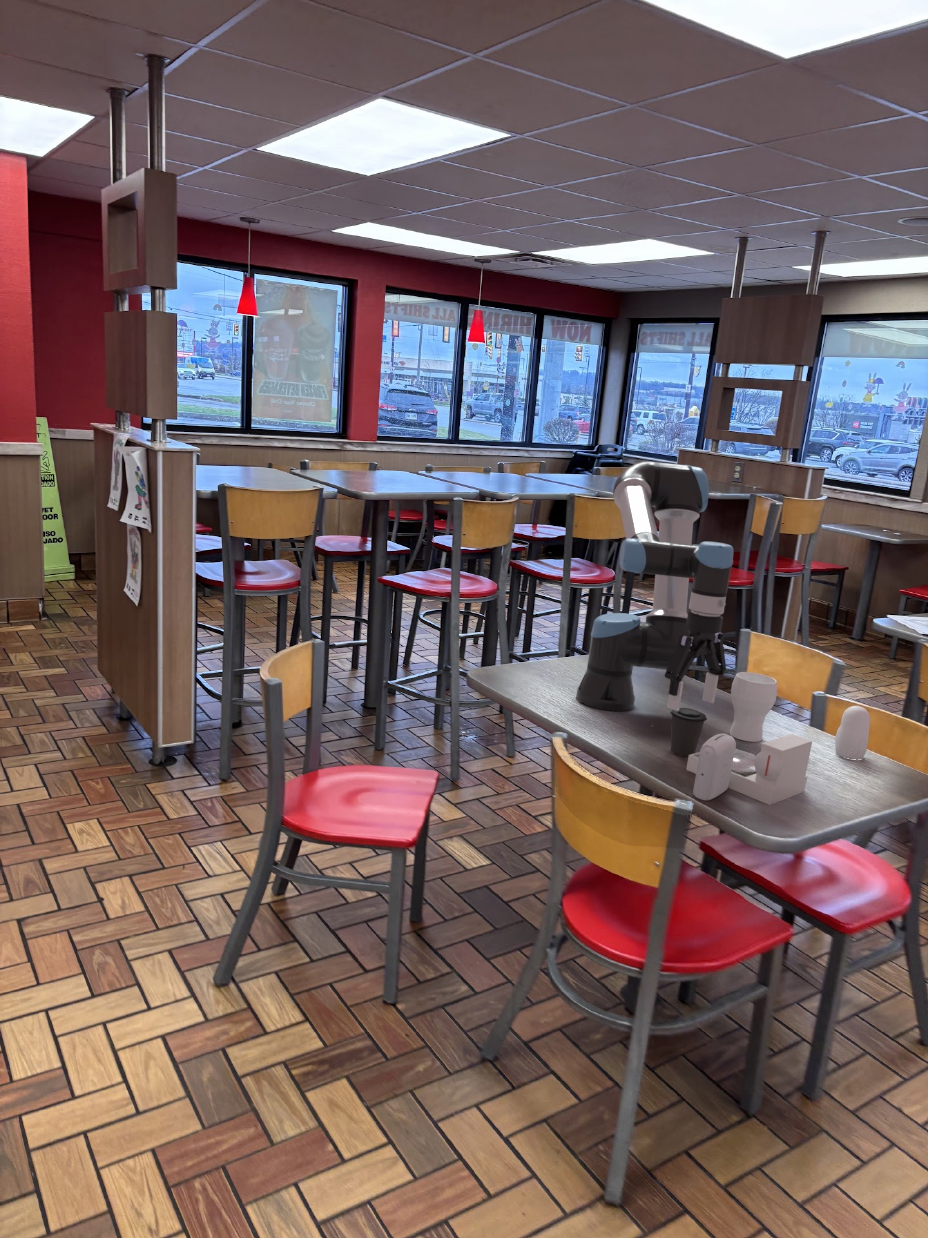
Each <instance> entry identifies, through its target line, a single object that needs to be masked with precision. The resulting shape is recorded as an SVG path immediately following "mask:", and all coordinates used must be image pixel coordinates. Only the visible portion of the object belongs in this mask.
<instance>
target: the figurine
mask: <svg viewBox="0 0 928 1238" xmlns="http://www.w3.org/2000/svg"><path fill="white" fill-rule="evenodd" d="M870 726H871V716H870V714H869V712H868V711H867V709H866V708H864V707H862V706H860V705H853V706H849V707H848V708H846V709H845V711H844V712H843V713H842V717H841V721H840V726H839V727H838V729H837V731H836V734H835V739H834V740H835V741H834V743H835V744H834V747H835V748H834V749H835V750H834V751H835V754H836V755H837V754H838V755H839V756H838V755H837V756H838V757H840V756H842V757H845V758H849V759H856V760H858V759H862V760H863V759H864V757H865V755H866V751H867V748H868V743H869V735H870V734H869V733H870V728H871V727H870ZM842 757H841V758H842ZM845 758H844V759H845Z"/></svg>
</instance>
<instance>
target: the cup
mask: <svg viewBox="0 0 928 1238" xmlns="http://www.w3.org/2000/svg"><path fill="white" fill-rule="evenodd" d="M777 681H778V680H777V679H775V678H773V677H771V676H769V675H766V674H760V673H757V672H750V671H740V672H737V673H736V674H735V676H734V679H733V681H732V684H731V689H730V696H731V697H730V698H731V702H732V706H733V710H734V715H733V716H734V718H733V722H732V724H731V726H730V731H729V735H730V736H732V737H733V738H734V739H738V740H740V741H741V740H742V741H745V742H751V743H752V742H755V743H759V742H761V741H762V740H763V731H764V728H763V725H764V721H765V719H766V716H767V715H768V714H769V713H770V711H771V710H772V709H773V707H774V705H775V703H776V700H777V695H778V682H777Z"/></svg>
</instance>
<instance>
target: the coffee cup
mask: <svg viewBox="0 0 928 1238" xmlns="http://www.w3.org/2000/svg"><path fill="white" fill-rule="evenodd" d="M670 715H671V731H670V733H671V735H670V737H671V738H670V752H671V753H673V754H674V755H676V756H679V757H686V758H687V757H689V755H691V754H694V753H696V751H697V746H698V743H699V739H700V736H701V734H702V731H703V726H704V723H705V722H706V721H707V719H708V718H707V715H706V714H704V713H703V712H702V711H699V710H697V709H694V708H689V707H681V708H680V707H679V711H675V710H673V709H671V711H670Z"/></svg>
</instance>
